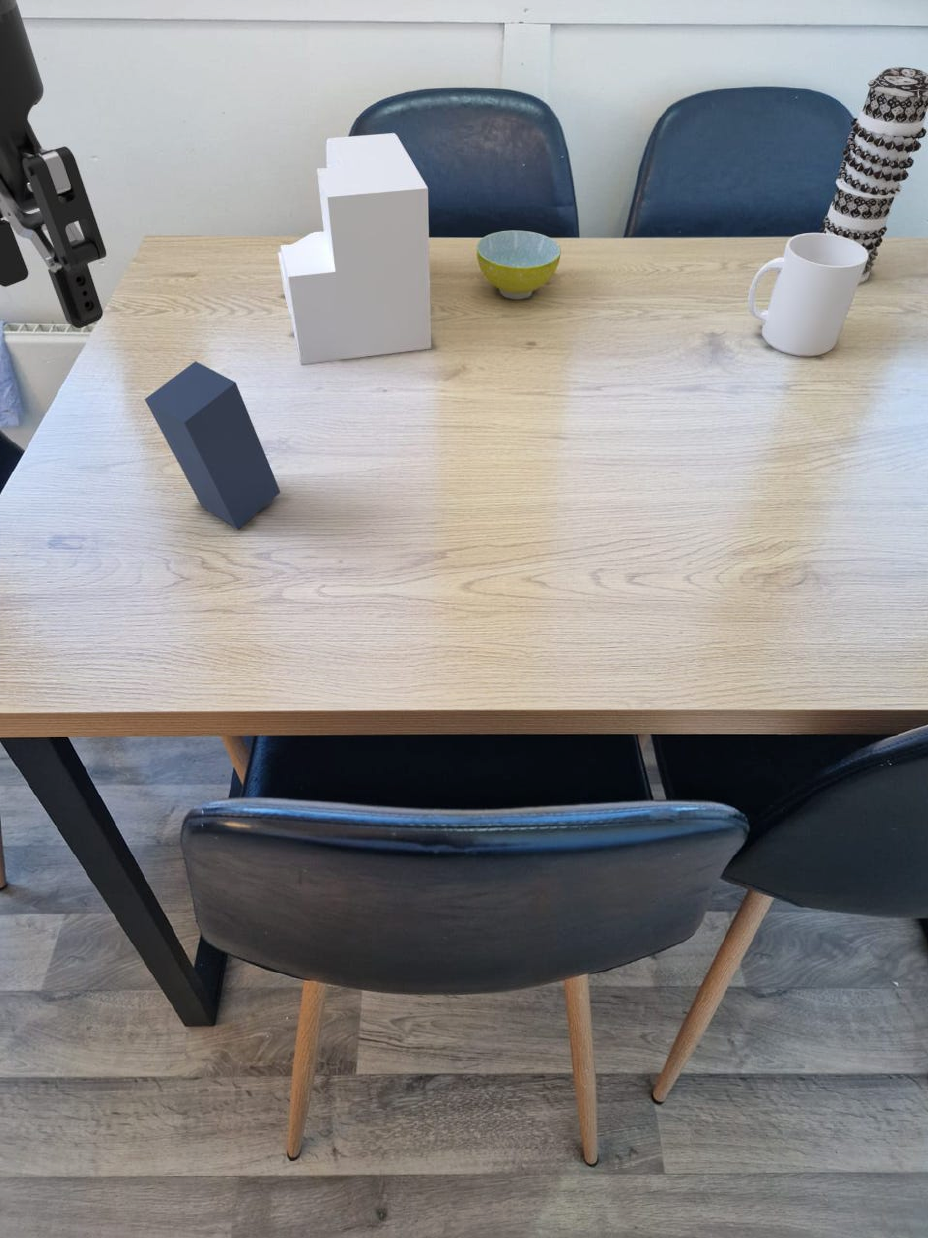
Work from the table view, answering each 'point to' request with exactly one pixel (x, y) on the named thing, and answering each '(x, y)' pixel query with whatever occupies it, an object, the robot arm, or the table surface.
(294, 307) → the block
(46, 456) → the table surface
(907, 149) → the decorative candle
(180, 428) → the rectangular box
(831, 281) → the mug
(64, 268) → the robot arm
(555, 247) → the bowl
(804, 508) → the table surface
